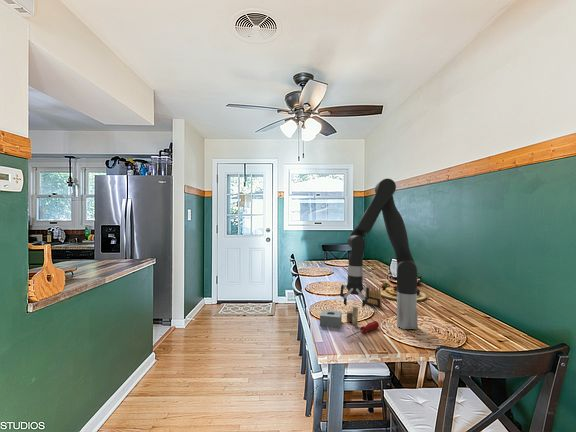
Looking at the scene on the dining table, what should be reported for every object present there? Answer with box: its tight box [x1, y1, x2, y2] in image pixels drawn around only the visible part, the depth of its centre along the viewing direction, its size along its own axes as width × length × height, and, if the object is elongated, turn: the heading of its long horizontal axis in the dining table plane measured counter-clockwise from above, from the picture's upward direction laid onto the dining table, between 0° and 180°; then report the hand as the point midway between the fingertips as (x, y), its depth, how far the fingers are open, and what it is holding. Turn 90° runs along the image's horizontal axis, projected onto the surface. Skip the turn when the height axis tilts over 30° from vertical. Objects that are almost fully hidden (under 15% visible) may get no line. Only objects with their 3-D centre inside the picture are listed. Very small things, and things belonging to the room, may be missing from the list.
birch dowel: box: [351, 305, 359, 327], centre depth 151 cm, size 3×3×9 cm
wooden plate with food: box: [378, 281, 427, 303], centre depth 209 cm, size 32×32×8 cm
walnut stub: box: [346, 310, 352, 323], centre depth 156 cm, size 5×5×4 cm
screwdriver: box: [345, 320, 380, 339], centre depth 139 cm, size 4×25×4 cm, turn 133°
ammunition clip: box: [364, 285, 382, 308], centre depth 185 cm, size 11×2×12 cm, turn 43°
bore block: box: [319, 309, 343, 329], centre depth 153 cm, size 10×10×5 cm
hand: (354, 306), depth 151 cm, fingers open, 8 cm apart
